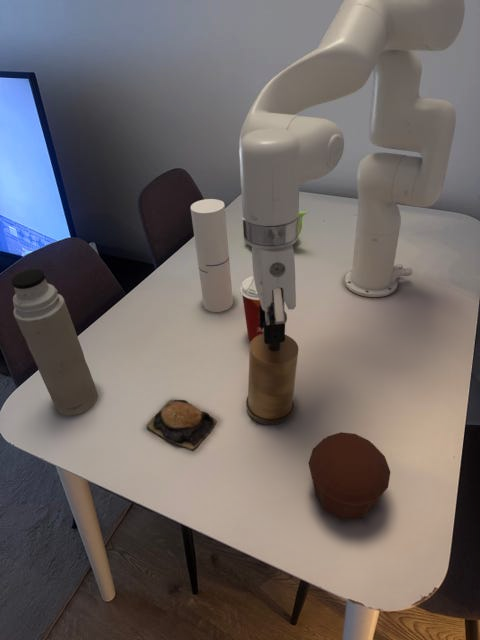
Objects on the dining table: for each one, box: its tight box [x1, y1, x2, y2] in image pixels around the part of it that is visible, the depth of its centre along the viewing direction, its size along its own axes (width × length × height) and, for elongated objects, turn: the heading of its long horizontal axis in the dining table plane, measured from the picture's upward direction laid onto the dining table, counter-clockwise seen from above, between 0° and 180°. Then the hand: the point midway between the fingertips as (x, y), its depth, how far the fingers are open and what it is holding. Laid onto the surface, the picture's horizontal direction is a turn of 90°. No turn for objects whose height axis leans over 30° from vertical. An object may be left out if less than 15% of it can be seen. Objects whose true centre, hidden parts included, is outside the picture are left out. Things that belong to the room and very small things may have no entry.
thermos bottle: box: [11, 268, 99, 416], centre depth 80 cm, size 8×8×28 cm
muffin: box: [308, 432, 391, 521], centre depth 66 cm, size 12×11×10 cm
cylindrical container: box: [190, 198, 234, 313], centre depth 104 cm, size 7×7×25 cm
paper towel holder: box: [245, 311, 299, 425], centre depth 77 cm, size 9×9×22 cm
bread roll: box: [146, 399, 217, 451], centre depth 81 cm, size 11×8×4 cm
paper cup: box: [239, 275, 264, 343], centre depth 96 cm, size 8×8×14 cm
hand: (271, 332), depth 73 cm, fingers closed on paper towel holder, 3 cm apart
